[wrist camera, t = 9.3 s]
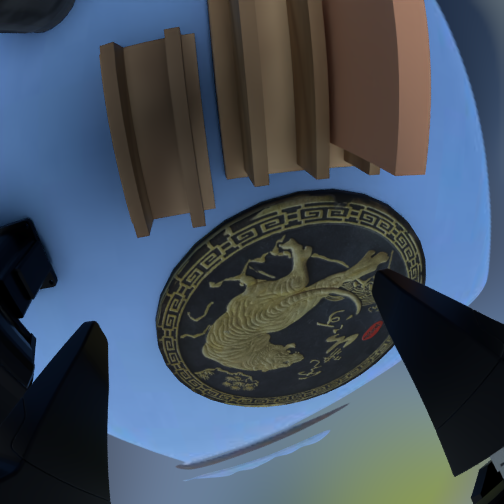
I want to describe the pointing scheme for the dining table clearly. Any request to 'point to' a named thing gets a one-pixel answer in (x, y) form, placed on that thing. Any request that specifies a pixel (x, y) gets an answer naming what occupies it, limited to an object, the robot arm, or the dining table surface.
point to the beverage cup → (32, 15)
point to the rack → (274, 89)
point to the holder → (158, 128)
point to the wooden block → (379, 81)
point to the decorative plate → (284, 298)
